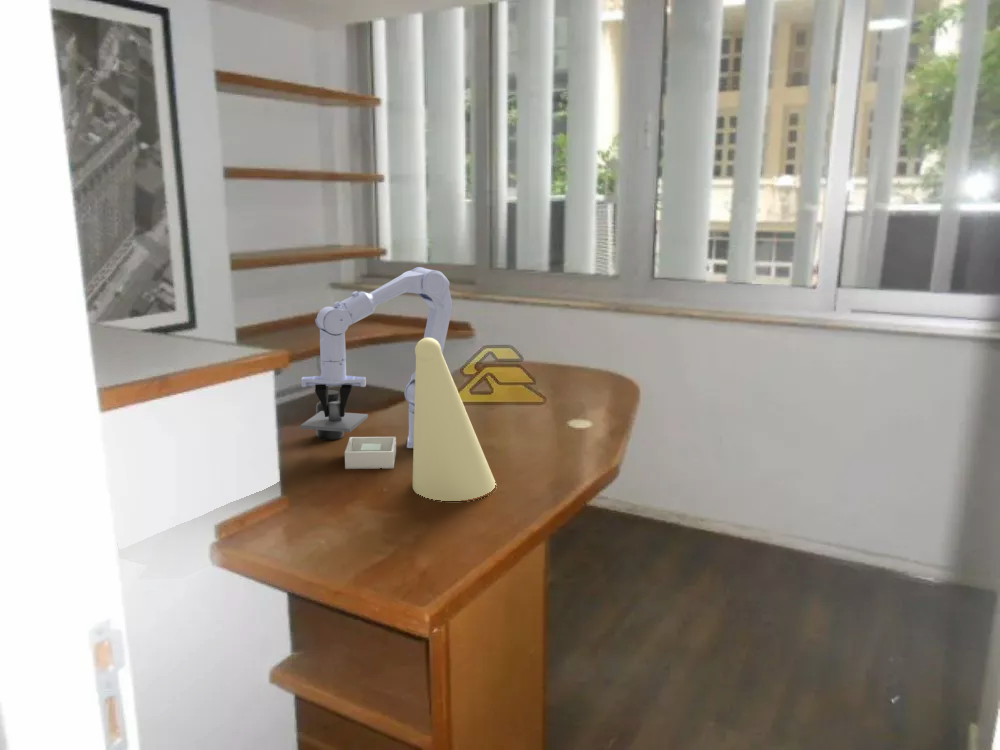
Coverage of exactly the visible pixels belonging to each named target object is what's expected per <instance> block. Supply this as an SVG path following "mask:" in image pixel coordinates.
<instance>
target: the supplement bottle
mask: <svg viewBox="0 0 1000 750" xmlns="http://www.w3.org/2000/svg"><path fill="white" fill-rule="evenodd" d="M334 401H336V402H341V400H340V391H339V390H334V389H328V403H329V402H334ZM320 411H324V410H323V407H322V404H321V402H320V401H319V402H317V403H316V407H315V412H316V413H315V415H316V414H317V413H319V412H320ZM344 433H345V432H341V431H327V430H316V437H317V438H318V439H319V440H323V441H336V439H337V440H340V439H342V438H343V437H344Z"/></svg>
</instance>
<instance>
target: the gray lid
mask: <svg viewBox="0 0 1000 750" xmlns="http://www.w3.org/2000/svg"><path fill="white" fill-rule="evenodd" d="M340 413H341V401H340V402H336V401H334V402H329V403H328V417H325V414H324V411H320V412H319V413H317V414H316V413H315V414H314V415H313V416H311V417H310V418H308V419H307V420H306V421H304V422H303V423H302V424H300V427H299V428H300V429H301V430H315V431H317V430H327V431H341V432H344V433H345V432H346V433H352V431H353V430H355V429H356V428H357V427H359V426H360V425H361V424H362V423H363V422H365V420H367V419H368V417H369V414H368V413H357V412H345V415H344V417H341V414H340Z"/></svg>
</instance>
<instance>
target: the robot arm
mask: <svg viewBox="0 0 1000 750" xmlns="http://www.w3.org/2000/svg"><path fill="white" fill-rule="evenodd" d="M450 284H451V283H450V281H449V280H448V278H447V276H446V275H445V274H444V273H443V272H442V271H439V270H434V269H429V268H426V267H423V266H418V267H415V268H413V269H411V270H407V271H404V272H403V273H402V274H401V275H399V276H397V277H395V278H394V279H391V280H390V281H388V282H386V283H385V284H383V285H381V286H379V287H378V288H376V289H374V290H372V291H371V292H369V293H368V292H366V291H354V292H351V296H349V297H347V298H345V299H343V300H342V301H335V302H334V303H333V306H325V307H323V308H321V309H320V310H319V312H318V313H317V316H316V318H314V322H315V325H316V327H318V329H319V349H320V350H319V351H320V353H319V354H320V355H319V356H320V375H314V376H302V377H301V379H300V380H301V387H302V388H306V387H315V388H314V392H315V395H317V397H318V399H319V402H321V404H322V407H323V410H324V414H325V417H328V390H329V387H340V388H339V399H340V402H341V413H340V414H341V417H344V415H345V413H346V407H347V406H346V405H347V402H348V400H349V397H350V393H351V392H352V390H353V387H362V388H366V386H367V377H366V376H354V375H347V361H346V360H347V355H346V352H347V351H346V348H347V347H346V331H347V330H348V328H349V326H351V325H353V324H355V323H357V322H359V321H361V320H363V319H365V318H367V317H368V316H370V315H373V314H374V312H375V310H376V308H377V306H378V305H381V304H384V303H386V302H388V301H390V300H392V299H394V298H396V297H399V296H401V295H403V294H405V293H409V294H416V295H417V296H419V297H421V298H422V300H423V301H424V302H425V304H426V306H428V313H427V321H426V323H425V324H426V325H425V326H426V327H425V329H424V335H423V338H433V339H435V340H436V341H438V343H439V344H440V346H441V352H442V354H443V353H444V349H445V345H446V344H445V343H446V339H447V335H448V329H449V324H450V320H451V317H452V316H451V314H452V311H453V300H452V295H451V291H450ZM415 374H416V370H414V372H413V373H412V374H411V376H410V380H409V382H408V383H407V385H406V386H405V388H404V398H405V400H406V401H407V403H408V436H407V442H406V448H407V449H414V412H415Z"/></svg>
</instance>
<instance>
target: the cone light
mask: <svg viewBox="0 0 1000 750" xmlns="http://www.w3.org/2000/svg"><path fill="white" fill-rule="evenodd" d="M414 354H415V371H416V374H415V412H414V448H413V452H412V453H413V457H412V490H413V491H414V493H415V494H417V495H418V494H419V496H420V495H421V496H420V497H422V496H423V498H424V497H425V498H424V499H427V498H429V499H428V500H431V499H433V500H432V501H435V500H441V501H440V502H442V501H461V500H468V499H473V498H477V497H480V496H483V495H485V494H487V493H489V492H491V491H492V490H493V489H494V488H495V485H496V486H497V482H496V480H495V478H494V475H493V473H492V470H491V468H490V466H489V465H490V464H489V463H488V460H487V459H486V455H485V454H484V451H483V449H482V447H481V443H480V442H479V439H478V437H477V435H476V431H475V430H474V427H473V425H472V422H471V420H470V417H469V414H468V413H467V411H466V407H465V405H464V402H463V400H462V398H461V394H459V393H460V392H459V391H458V388H457V386H456V383H455V381H454V379H453V376H452V374H451V371H450V369H449V367H448V365H447V362H446V359H445V357H444V355H443V354H442V352H441V346H440V344H439V343H438V341H436V340H435V339H433V338H424V337H423V338H421V339H420V340H419V341H418V342H417V343H416V345H415V348H414ZM495 482H496V483H495Z"/></svg>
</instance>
